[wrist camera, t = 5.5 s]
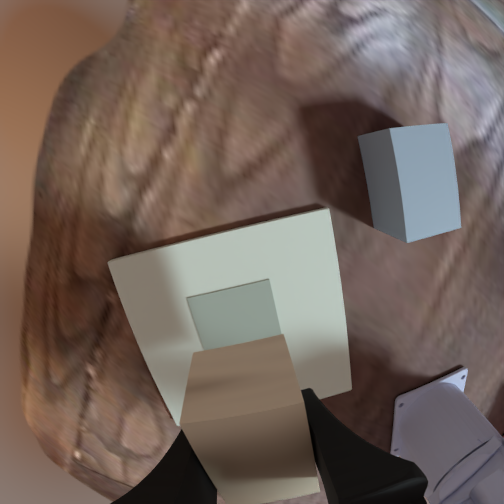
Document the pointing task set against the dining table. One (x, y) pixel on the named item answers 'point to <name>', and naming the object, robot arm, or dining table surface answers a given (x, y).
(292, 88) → the dining table surface
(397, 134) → the slate brick
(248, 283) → the plate
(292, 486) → the birch brick
